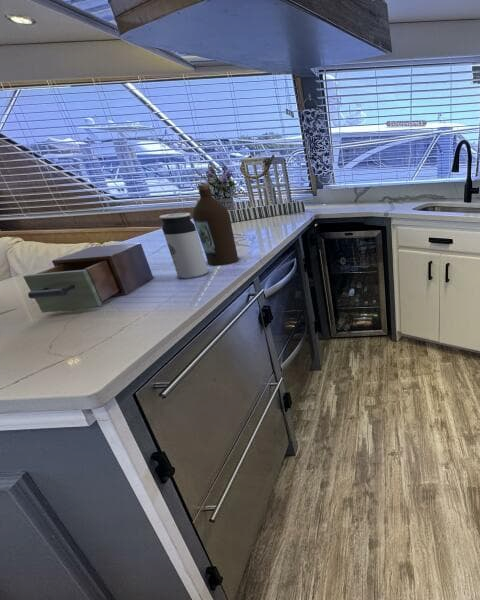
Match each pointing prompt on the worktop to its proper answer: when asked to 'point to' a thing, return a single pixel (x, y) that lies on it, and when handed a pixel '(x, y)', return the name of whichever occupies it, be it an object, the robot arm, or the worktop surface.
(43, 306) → the drawer
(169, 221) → the travel mug
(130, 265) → the storage box
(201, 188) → the olive oil
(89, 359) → the worktop surface
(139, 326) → the worktop surface
